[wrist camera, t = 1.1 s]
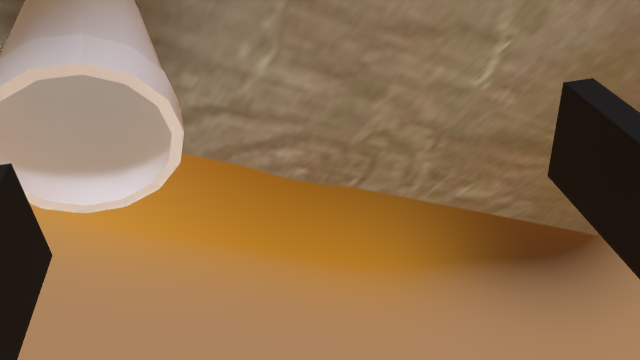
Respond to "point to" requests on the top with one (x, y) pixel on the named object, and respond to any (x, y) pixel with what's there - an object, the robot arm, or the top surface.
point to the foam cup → (86, 106)
